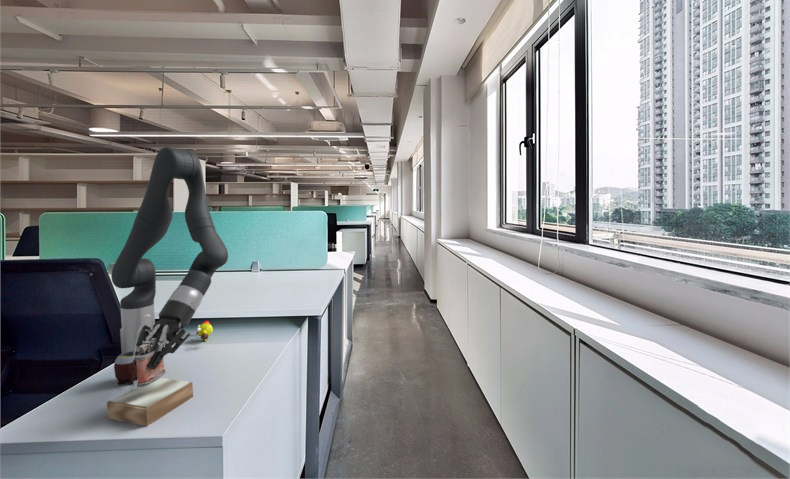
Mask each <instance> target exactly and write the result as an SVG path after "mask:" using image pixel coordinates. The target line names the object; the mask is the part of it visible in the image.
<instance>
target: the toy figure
mask: <svg viewBox="0 0 790 479" xmlns="http://www.w3.org/2000/svg"><path fill="white" fill-rule="evenodd" d="M196 330H197V331H196V335H197V336H198V337H200V339H201V340H202V342H207V341H208V339H209V336H210V335H212V333H213V330H214V329H213V326H212V325H211V322H210V321H209V320H205V321H202V324H199V325H198V326H197V329H196Z"/></svg>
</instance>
